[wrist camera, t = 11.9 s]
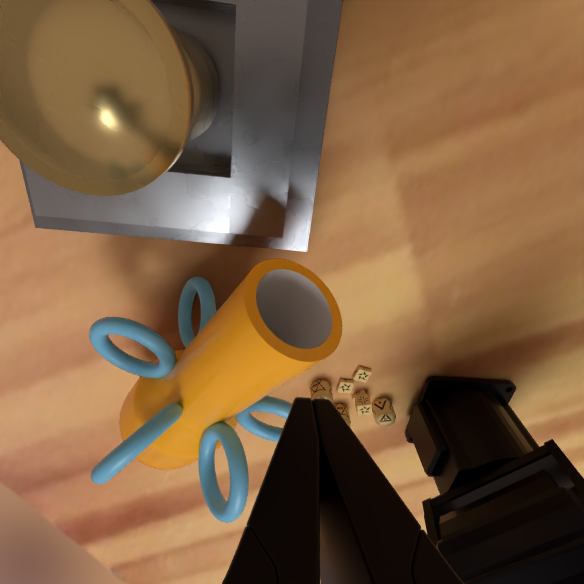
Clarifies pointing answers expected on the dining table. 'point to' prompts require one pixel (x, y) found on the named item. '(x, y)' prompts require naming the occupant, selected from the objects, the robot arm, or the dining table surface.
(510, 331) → the dining table surface
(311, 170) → the plate
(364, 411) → the mottled tan cylinder cluster
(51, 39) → the bushing
